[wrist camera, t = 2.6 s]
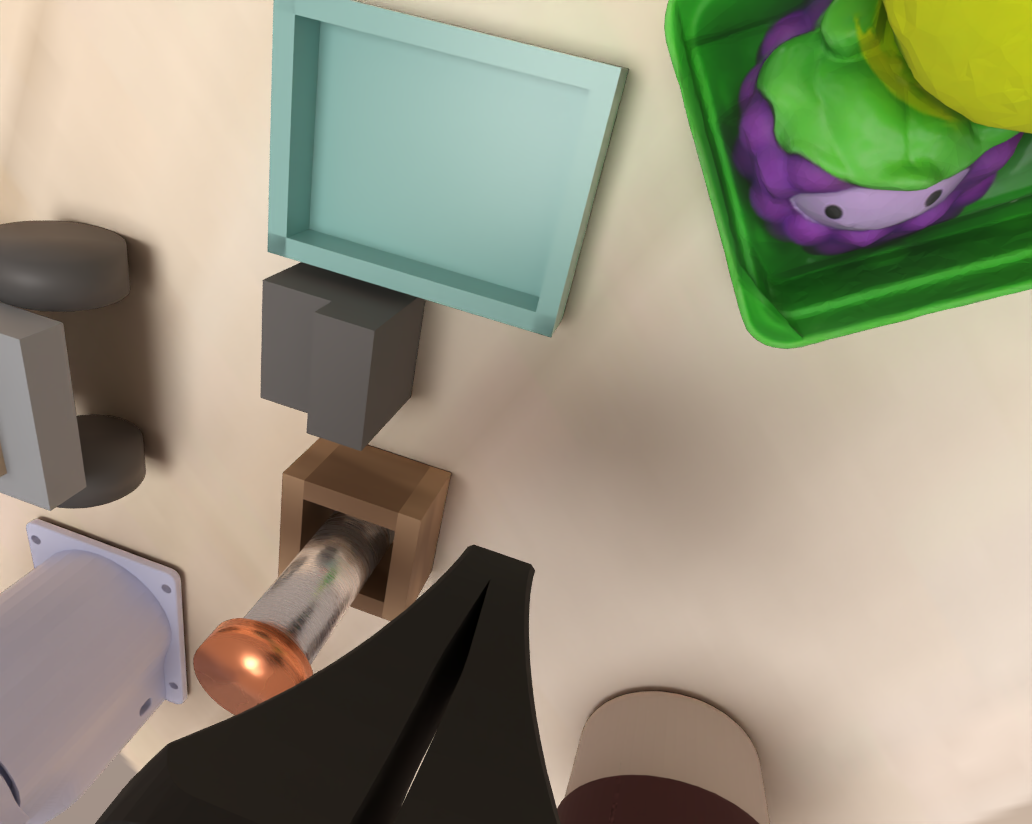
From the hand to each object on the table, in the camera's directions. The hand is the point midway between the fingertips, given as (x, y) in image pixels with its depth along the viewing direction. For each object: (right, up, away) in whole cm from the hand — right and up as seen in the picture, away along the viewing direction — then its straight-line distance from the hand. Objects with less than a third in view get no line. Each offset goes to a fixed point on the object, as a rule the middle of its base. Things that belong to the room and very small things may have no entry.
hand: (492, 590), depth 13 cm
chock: (-5, +6, +9) cm, 12 cm away
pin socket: (-5, 0, +12) cm, 13 cm away
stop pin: (-5, 0, +12) cm, 13 cm away
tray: (-2, +11, +6) cm, 12 cm away
